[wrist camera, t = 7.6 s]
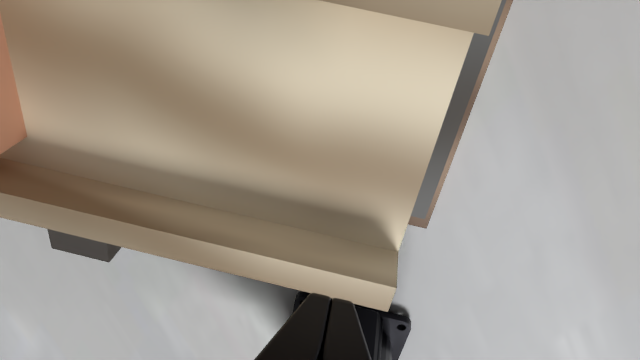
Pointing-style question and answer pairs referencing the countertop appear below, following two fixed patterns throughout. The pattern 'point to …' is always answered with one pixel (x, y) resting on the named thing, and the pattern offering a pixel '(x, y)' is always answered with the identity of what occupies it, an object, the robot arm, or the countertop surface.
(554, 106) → the countertop surface
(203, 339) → the countertop surface
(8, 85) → the rider
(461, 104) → the stand
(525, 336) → the countertop surface
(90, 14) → the beam
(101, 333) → the countertop surface
